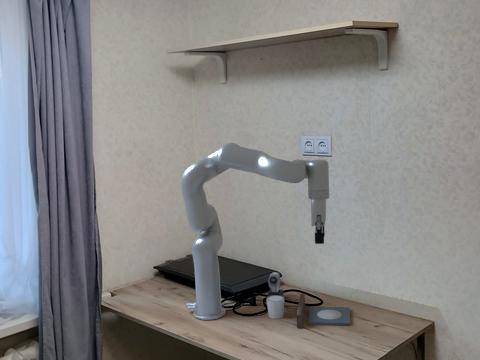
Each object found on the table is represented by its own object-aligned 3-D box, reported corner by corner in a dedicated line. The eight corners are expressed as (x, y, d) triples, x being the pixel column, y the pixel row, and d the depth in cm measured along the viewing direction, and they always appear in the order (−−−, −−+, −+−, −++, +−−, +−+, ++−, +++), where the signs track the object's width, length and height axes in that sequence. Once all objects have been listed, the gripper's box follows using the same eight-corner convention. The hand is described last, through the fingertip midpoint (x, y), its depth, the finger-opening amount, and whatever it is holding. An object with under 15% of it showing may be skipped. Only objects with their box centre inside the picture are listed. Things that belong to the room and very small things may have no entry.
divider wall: (296, 328, 192) (296, 315, 191) (300, 305, 214) (300, 293, 213) (301, 328, 192) (301, 315, 191) (305, 305, 213) (304, 293, 213)
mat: (308, 324, 195) (308, 321, 195) (310, 309, 210) (310, 306, 209) (350, 325, 192) (350, 323, 192) (349, 310, 207) (349, 307, 207)
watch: (267, 301, 219) (266, 275, 218) (271, 294, 227) (270, 269, 225) (280, 302, 218) (279, 276, 216) (284, 295, 225) (283, 270, 224)
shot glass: (273, 311, 209) (272, 293, 208) (288, 314, 205) (287, 296, 204) (263, 317, 204) (262, 299, 203) (279, 320, 200) (278, 302, 199)
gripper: (309, 190, 204) (310, 234, 206) (307, 198, 187) (308, 246, 190) (329, 190, 203) (330, 234, 205) (328, 198, 186) (330, 246, 188)
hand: (319, 240), depth 197 cm, fingers open, 9 cm apart
